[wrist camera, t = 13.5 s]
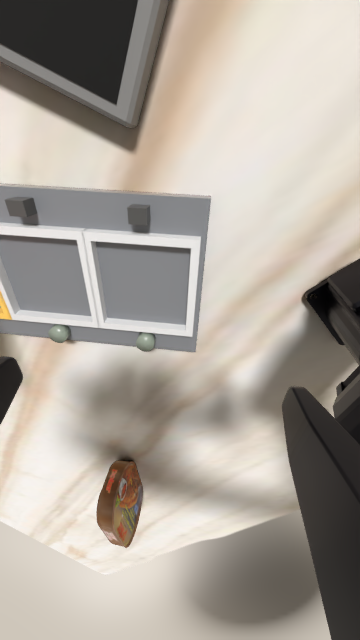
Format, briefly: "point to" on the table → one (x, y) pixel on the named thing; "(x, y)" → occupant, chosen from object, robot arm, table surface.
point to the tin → (120, 503)
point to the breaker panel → (102, 265)
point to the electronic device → (86, 49)
